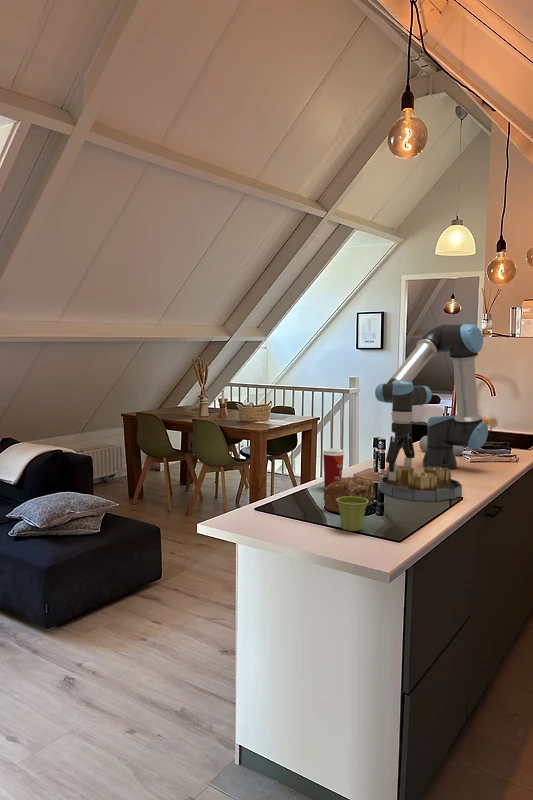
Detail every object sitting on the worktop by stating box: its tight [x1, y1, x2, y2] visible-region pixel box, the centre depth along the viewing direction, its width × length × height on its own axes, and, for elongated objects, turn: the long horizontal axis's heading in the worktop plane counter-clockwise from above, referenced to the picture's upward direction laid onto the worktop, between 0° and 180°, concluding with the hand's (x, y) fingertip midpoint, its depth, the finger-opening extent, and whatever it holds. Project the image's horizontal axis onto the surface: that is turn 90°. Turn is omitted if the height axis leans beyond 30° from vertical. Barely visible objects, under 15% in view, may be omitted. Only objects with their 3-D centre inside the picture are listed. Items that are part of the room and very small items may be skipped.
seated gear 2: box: [423, 466, 452, 487], centre depth 233 cm, size 10×10×6 cm
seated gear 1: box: [408, 471, 437, 491], centre depth 222 cm, size 10×10×6 cm
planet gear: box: [386, 464, 415, 486], centre depth 235 cm, size 10×10×6 cm
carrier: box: [378, 468, 463, 502], centre depth 230 cm, size 29×29×8 cm
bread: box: [323, 476, 376, 514], centre depth 206 cm, size 19×11×10 cm, turn 143°
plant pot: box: [336, 497, 369, 532], centre depth 181 cm, size 9×9×9 cm
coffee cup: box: [322, 448, 345, 489], centre depth 232 cm, size 8×8×15 cm
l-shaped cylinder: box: [419, 435, 465, 457], centre depth 312 cm, size 18×11×20 cm
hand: (400, 477), depth 235 cm, fingers open, 13 cm apart
